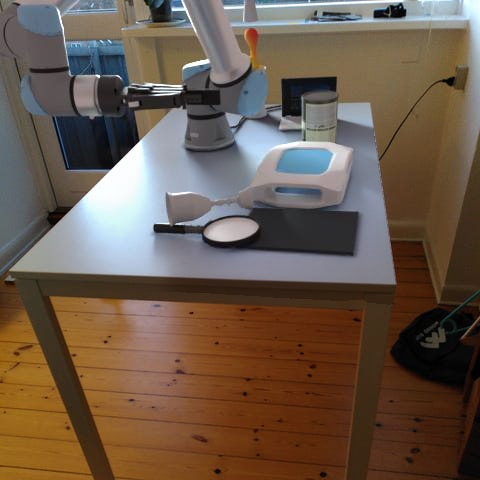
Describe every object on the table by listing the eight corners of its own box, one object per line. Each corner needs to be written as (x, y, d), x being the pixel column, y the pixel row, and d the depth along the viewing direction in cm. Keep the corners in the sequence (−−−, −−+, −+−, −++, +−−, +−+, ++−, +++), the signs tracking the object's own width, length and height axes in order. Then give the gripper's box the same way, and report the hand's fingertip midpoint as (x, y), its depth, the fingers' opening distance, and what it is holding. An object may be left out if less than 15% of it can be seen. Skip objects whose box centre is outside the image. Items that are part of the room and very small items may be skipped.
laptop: (278, 131, 164) (277, 87, 156) (281, 119, 174) (280, 78, 166) (335, 129, 161) (337, 85, 154) (335, 118, 171) (337, 75, 163)
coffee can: (294, 145, 153) (293, 95, 144) (320, 137, 157) (322, 88, 148) (316, 154, 145) (317, 102, 137) (344, 145, 150) (346, 94, 141)
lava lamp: (244, 111, 185) (237, -3, 164) (269, 110, 183) (265, -5, 162) (240, 118, 178) (232, 0, 157) (266, 118, 176) (261, -1, 155)
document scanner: (352, 165, 137) (354, 141, 133) (339, 211, 116) (341, 184, 112) (275, 162, 142) (274, 140, 139) (249, 206, 121) (248, 180, 117)
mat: (253, 210, 119) (252, 207, 119) (358, 214, 114) (358, 211, 113) (234, 248, 106) (234, 245, 105) (353, 255, 100) (353, 252, 100)
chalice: (245, 175, 113) (164, 185, 108) (255, 191, 108) (171, 202, 104) (244, 205, 118) (166, 215, 113) (253, 221, 113) (173, 232, 109)
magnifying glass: (167, 219, 119) (165, 211, 117) (267, 223, 111) (266, 214, 110) (143, 245, 109) (141, 236, 108) (251, 251, 102) (250, 242, 101)
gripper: (114, 107, 109) (224, 108, 107) (95, 125, 99) (216, 126, 97) (108, 68, 105) (223, 68, 103) (87, 83, 94) (214, 83, 92)
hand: (219, 96), depth 100 cm, fingers closed
